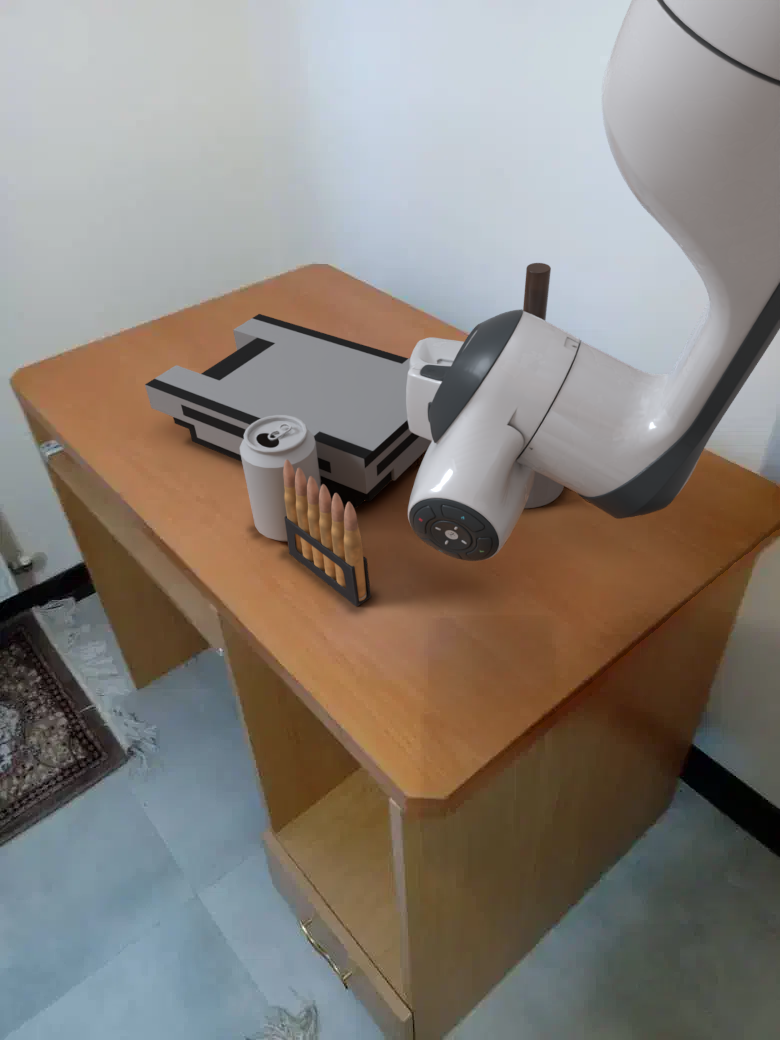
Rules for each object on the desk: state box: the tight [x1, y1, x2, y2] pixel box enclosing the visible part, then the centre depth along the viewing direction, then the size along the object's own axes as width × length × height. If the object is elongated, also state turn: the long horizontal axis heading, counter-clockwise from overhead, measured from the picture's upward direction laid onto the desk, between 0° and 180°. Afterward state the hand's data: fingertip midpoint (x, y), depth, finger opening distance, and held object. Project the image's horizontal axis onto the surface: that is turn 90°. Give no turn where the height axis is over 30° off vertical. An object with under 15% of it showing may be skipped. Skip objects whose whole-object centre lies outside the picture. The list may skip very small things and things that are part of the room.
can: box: [240, 415, 321, 542], centre depth 81 cm, size 8×8×12 cm
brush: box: [522, 262, 552, 321], centre depth 78 cm, size 3×3×18 cm
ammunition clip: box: [283, 459, 372, 607], centre depth 75 cm, size 11×2×12 cm, turn 43°
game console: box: [144, 313, 432, 509], centre depth 95 cm, size 21×32×8 cm, turn 56°
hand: (533, 341), depth 78 cm, fingers closed on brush, 2 cm apart
